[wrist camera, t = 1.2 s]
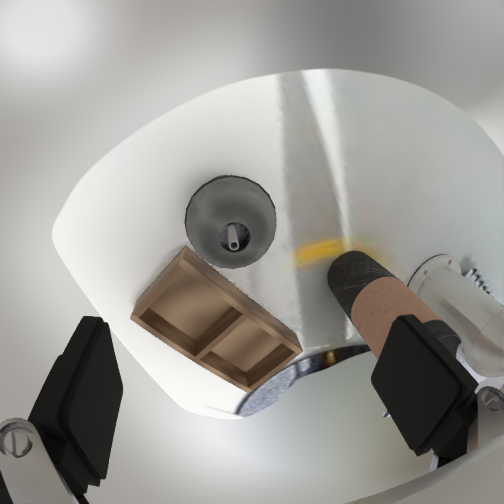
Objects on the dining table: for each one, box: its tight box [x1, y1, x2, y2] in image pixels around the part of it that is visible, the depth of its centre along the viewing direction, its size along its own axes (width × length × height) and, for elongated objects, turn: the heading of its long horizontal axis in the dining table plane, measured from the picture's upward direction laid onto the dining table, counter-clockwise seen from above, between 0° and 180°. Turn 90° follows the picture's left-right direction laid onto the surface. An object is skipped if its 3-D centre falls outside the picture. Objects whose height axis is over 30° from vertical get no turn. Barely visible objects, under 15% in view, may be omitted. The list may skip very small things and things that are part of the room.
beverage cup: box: [185, 175, 277, 269], centre depth 25 cm, size 7×7×20 cm
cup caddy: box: [130, 246, 303, 393], centre depth 38 cm, size 20×11×4 cm, turn 45°
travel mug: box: [328, 251, 462, 359], centre depth 31 cm, size 8×8×20 cm
